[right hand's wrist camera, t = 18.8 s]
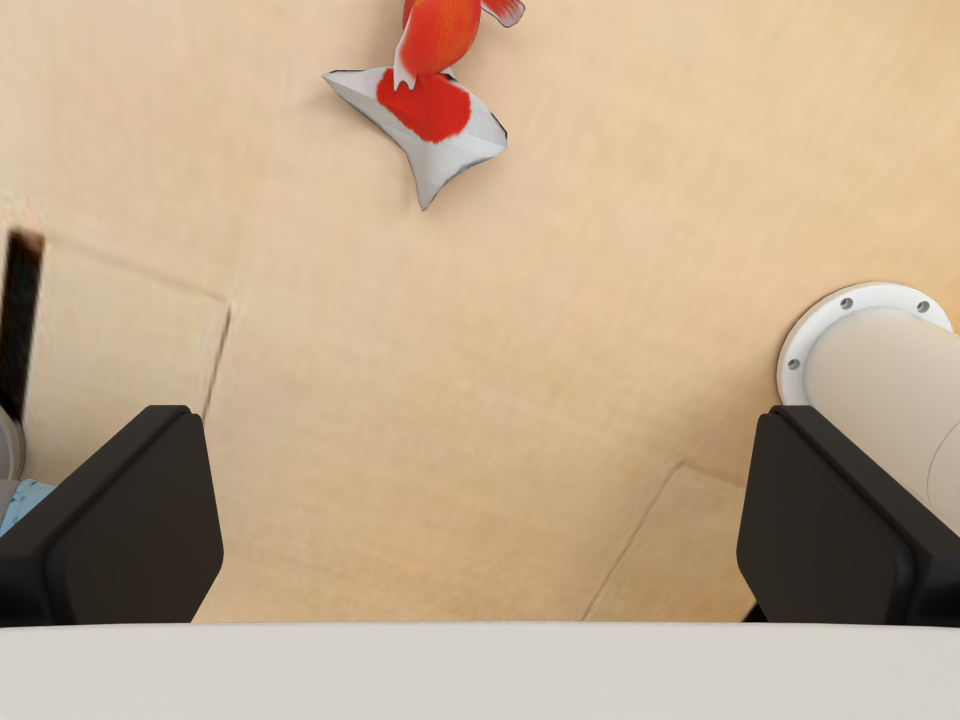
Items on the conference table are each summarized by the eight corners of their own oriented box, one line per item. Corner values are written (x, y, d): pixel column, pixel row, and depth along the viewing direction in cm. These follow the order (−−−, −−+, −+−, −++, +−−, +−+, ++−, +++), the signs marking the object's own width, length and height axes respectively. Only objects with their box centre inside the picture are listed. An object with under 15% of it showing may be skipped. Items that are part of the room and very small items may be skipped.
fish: (609, -12, 36) (532, 11, 29) (499, 207, 47) (423, 263, 40) (457, -113, 38) (347, -114, 30) (383, 124, 48) (290, 164, 41)
